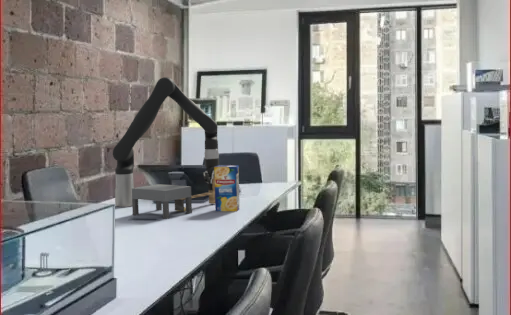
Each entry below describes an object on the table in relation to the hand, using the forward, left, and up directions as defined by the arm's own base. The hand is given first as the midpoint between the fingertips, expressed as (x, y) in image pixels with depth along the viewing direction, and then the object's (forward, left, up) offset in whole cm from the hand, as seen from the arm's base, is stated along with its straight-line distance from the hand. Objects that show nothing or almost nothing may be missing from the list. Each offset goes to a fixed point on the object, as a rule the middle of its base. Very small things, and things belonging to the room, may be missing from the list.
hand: (212, 189), depth 307 cm
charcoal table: (-3, -36, -8) cm, 37 cm away
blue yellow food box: (+19, -12, -8) cm, 24 cm away
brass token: (0, -23, -8) cm, 25 cm away
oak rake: (0, -13, -7) cm, 15 cm away
